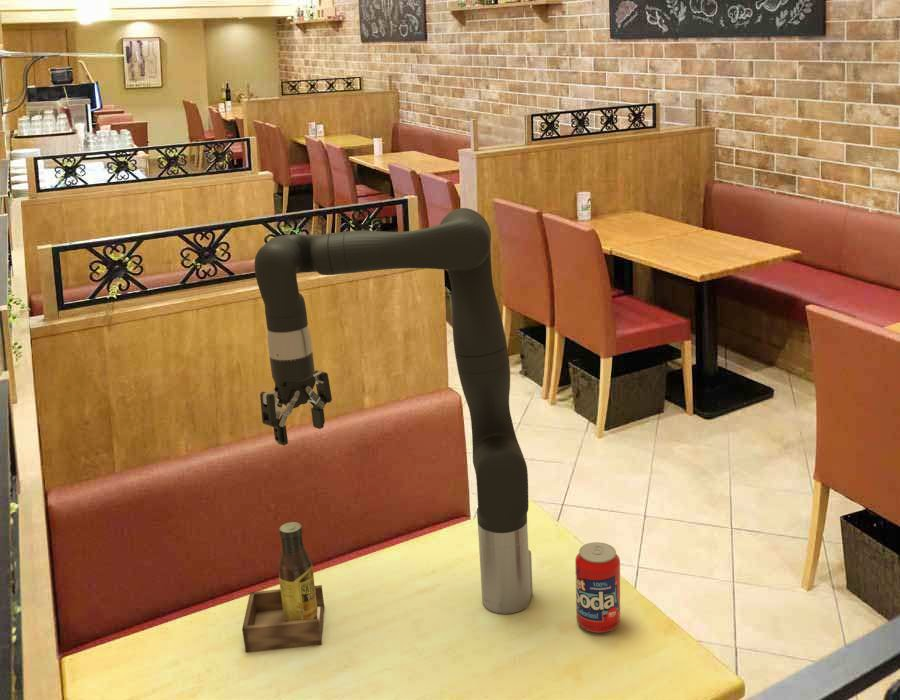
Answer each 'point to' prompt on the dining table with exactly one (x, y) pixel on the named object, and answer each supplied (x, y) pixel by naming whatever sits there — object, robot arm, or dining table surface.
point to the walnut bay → (279, 623)
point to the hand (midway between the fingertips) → (301, 435)
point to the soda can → (597, 587)
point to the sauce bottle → (296, 576)
